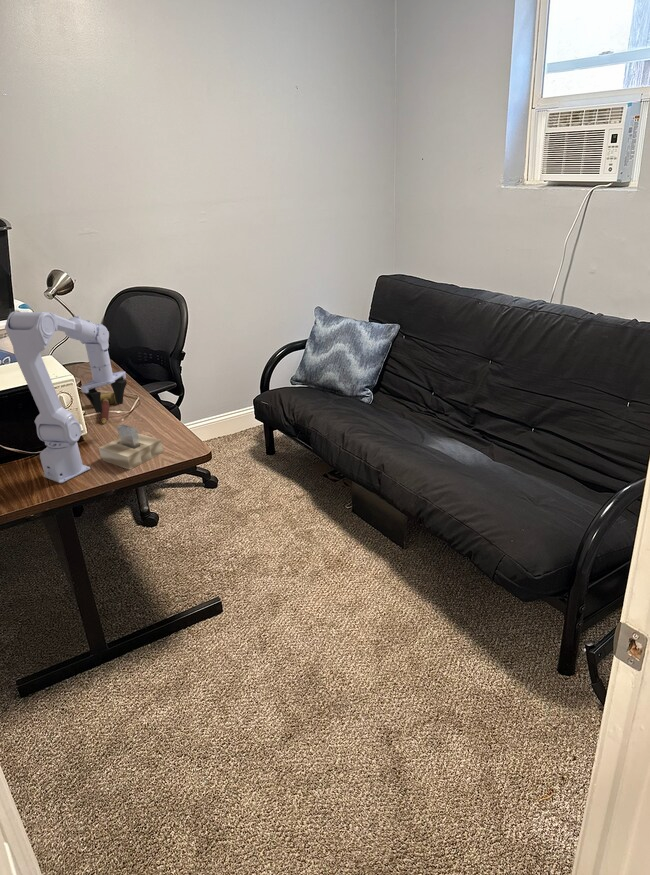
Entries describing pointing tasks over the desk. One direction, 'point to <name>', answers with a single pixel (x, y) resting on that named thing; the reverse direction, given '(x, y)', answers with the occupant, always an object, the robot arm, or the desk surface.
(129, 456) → the beige compartment tray
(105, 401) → the gavel
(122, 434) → the frosted upright panel
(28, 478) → the desk surface
